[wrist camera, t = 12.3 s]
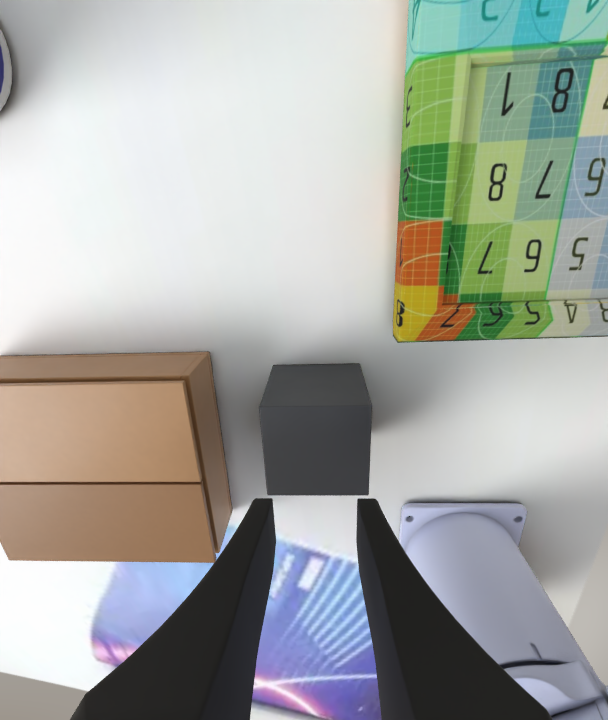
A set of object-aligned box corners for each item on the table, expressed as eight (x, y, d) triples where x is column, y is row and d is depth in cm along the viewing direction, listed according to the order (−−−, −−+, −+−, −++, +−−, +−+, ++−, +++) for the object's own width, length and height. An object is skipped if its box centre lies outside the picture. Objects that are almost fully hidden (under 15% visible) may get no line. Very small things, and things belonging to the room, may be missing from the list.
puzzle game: (1089, -662, 7) (700, 341, 14) (780, -305, 11) (608, 313, 18) (458, -554, 7) (402, 349, 14) (405, -259, 12) (383, 320, 19)
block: (357, 437, 21) (368, 495, 17) (278, 438, 22) (267, 495, 17) (359, 363, 20) (372, 405, 15) (272, 364, 20) (258, 406, 15)
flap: (216, 558, 20) (215, 562, 20) (13, 556, 21) (8, 560, 21) (202, 480, 18) (200, 484, 18) (-23, 480, 19) (-28, 484, 19)
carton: (232, 510, 24) (216, 563, 20) (56, 509, 25) (8, 561, 21) (209, 351, 20) (183, 381, 16) (-3, 355, 20) (-76, 385, 17)
